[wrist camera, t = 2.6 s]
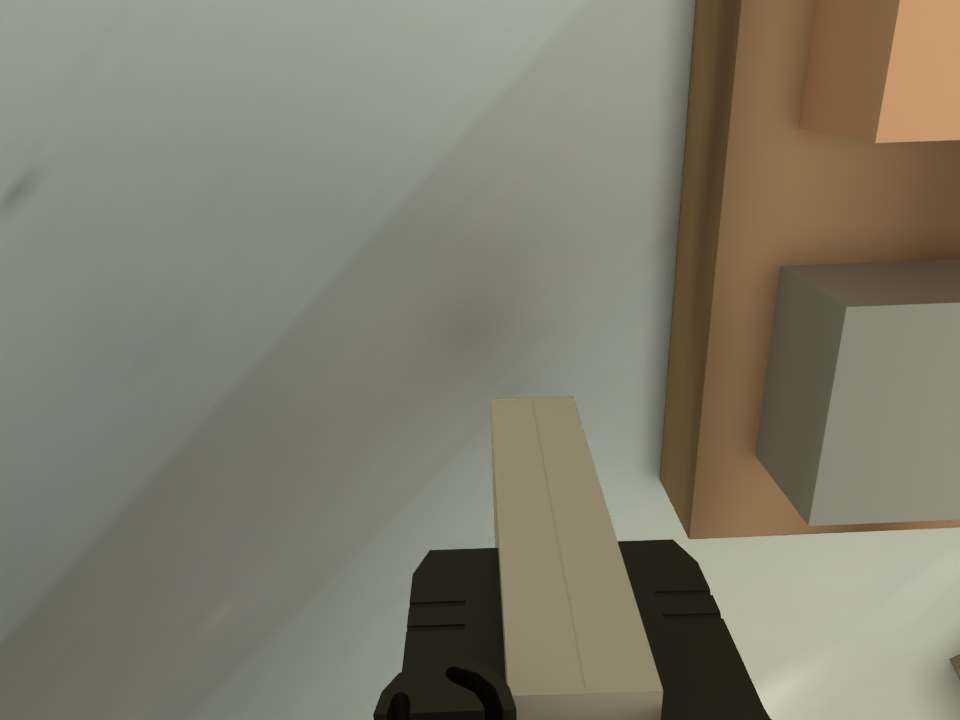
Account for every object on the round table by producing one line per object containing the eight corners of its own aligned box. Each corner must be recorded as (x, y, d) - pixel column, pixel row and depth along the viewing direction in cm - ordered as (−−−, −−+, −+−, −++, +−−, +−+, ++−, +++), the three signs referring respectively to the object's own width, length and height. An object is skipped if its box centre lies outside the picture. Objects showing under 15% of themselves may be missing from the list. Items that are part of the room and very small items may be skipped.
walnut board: (659, 479, 22) (689, 539, 19) (715, -254, 15) (773, -324, 12) (981, 465, 22) (1055, 522, 19) (1182, -267, 15) (1343, -341, 12)
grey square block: (755, 456, 18) (808, 526, 15) (780, 265, 16) (846, 306, 14) (949, 447, 18) (1035, 516, 16) (996, 257, 16) (1106, 296, 14)
